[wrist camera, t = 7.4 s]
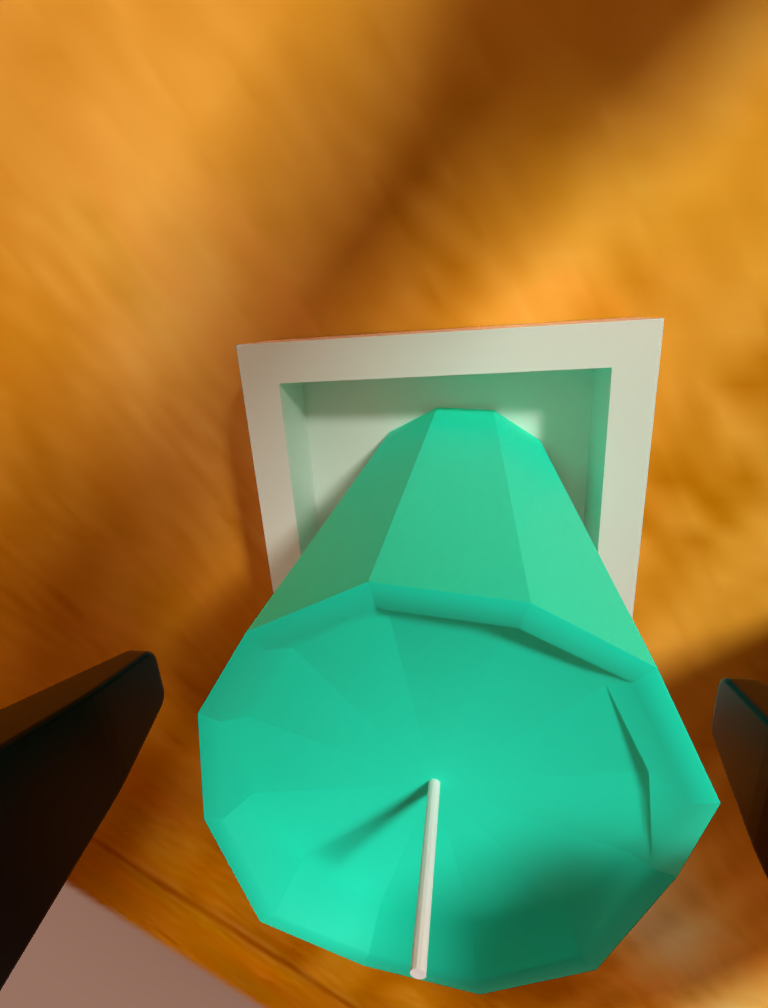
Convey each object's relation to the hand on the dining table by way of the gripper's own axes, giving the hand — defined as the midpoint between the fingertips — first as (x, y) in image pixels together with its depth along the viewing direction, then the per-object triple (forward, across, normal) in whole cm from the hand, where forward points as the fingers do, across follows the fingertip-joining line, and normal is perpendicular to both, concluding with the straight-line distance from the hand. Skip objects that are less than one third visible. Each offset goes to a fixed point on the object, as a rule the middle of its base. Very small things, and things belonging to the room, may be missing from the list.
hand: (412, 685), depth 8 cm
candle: (+8, 0, 0) cm, 8 cm away
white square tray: (+9, 0, 0) cm, 9 cm away
